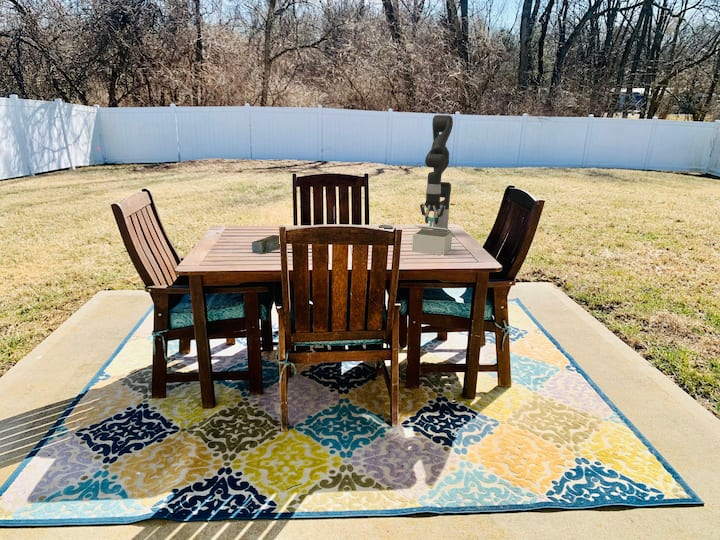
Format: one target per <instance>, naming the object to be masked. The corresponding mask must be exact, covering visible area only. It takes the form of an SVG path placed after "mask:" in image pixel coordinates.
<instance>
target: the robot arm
mask: <svg viewBox="0 0 720 540" xmlns="http://www.w3.org/2000/svg"><path fill="white" fill-rule="evenodd" d="M453 124H454V120H453V117H452V116H451V115H449V114H448V115H447V114H446V115H445V114H442V115H440V114H438V115H434V116H433V117H432V140H433V141H432V145H431V148H430V150H429V152H428V153H427V155H426V156H425V159H424V162H425V164H424V165H425V166H426V167H427V168H432V170H433V171H431V172H428V174H427V183H426V193H425V202H424V203H421V204H420V205H419V207H420V212H421V216H424V222H425V224H429V221H427V218H428V217H430V216H429V214H430V212H433V217H432V218H435V222H434V221H433V223H432V227H439V228H447V229H449V218H450V217H449V215H450V200H451V192H452V183H451V182H447V181H446V182H445V181H442V175H443V173H444V172H445V171H446V169H447V168H448V166H449V164H450V152H449V149H448V147H447V146H446V145H447V142H448V141H449V138H450V135H451V133H452V130H453V127H454V125H453ZM441 198H444V199H443V200H441ZM425 208H426V210H425ZM438 231H441V230H438ZM446 232H448V231H446Z"/></svg>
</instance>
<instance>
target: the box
mask: <svg viewBox="0 0 720 540" xmlns="http://www.w3.org/2000/svg"><path fill="white" fill-rule="evenodd" d="M452 239H453V231H452V232H449V231H447V232H446V231H438V230H432V229H423V228H419V230H417V231H416V232H414V233H412V243H411V244H412V248H411V249H412V250H411V252H412V253H419V254H426V253H429V254H428V255H433V254H436V255H435V256H441V255H444V256H446V255H447V254H448V253H449V252H450V251H451V250H452V241H453V240H452ZM450 249H451V250H450ZM449 250H450V251H449ZM448 251H449V252H448ZM447 252H448V253H447Z"/></svg>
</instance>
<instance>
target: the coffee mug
mask: <svg viewBox="0 0 720 540" xmlns="http://www.w3.org/2000/svg"><path fill="white" fill-rule="evenodd" d="M377 227H379V228H384V229H393V230H394V226H393V225H391V224H379V225H378V226H377Z"/></svg>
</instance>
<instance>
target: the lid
mask: <svg viewBox="0 0 720 540" xmlns="http://www.w3.org/2000/svg"><path fill="white" fill-rule="evenodd" d="M427 221H428V222H429V225H419V224H413V226H414V227H417V228H419V229H429V230H441V231H447V232H452V233H453V230H451V229H449V228H448V229H447V228H439V227H433V221H434V222H435V218H433V217H431V216H429V217H428V218H427Z"/></svg>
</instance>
